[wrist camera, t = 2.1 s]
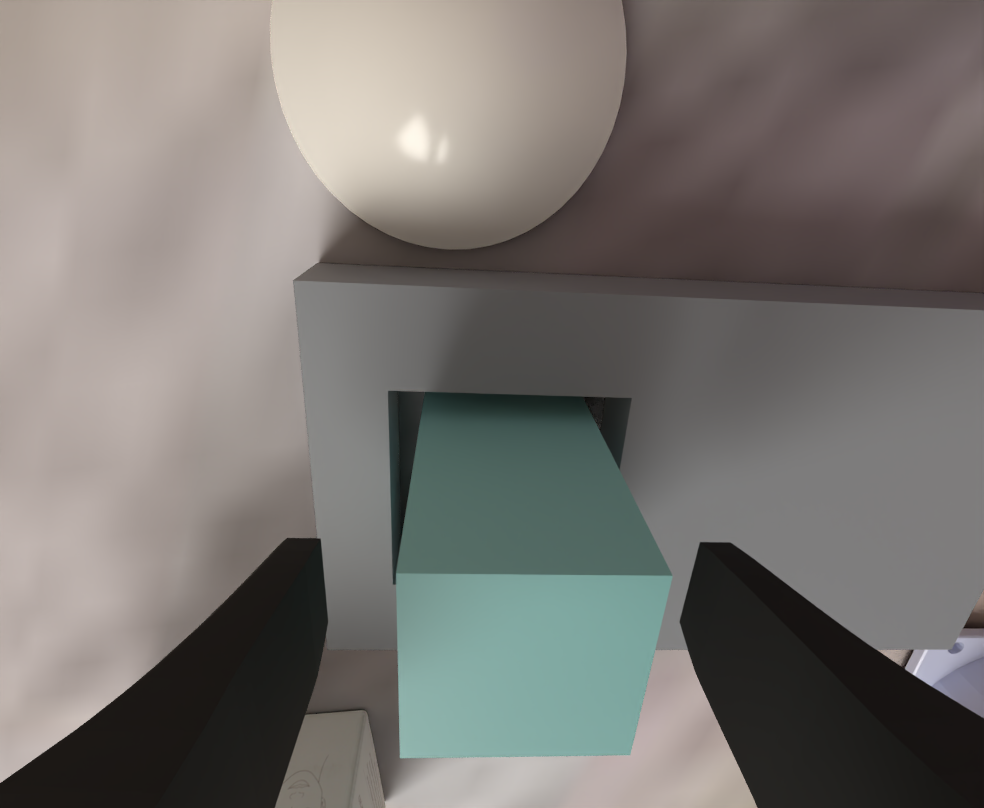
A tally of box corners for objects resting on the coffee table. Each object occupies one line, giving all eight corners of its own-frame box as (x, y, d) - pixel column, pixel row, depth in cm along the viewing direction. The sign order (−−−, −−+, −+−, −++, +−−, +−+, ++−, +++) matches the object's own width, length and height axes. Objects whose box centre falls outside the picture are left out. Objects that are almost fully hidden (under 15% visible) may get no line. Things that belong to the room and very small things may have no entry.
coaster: (647, -137, 10) (654, -147, 10) (597, 254, 13) (601, 256, 13) (256, -175, 10) (247, -187, 9) (293, 239, 12) (288, 242, 12)
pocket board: (1042, 295, 14) (1130, 316, 12) (901, 599, 18) (951, 649, 16) (317, 262, 13) (293, 280, 11) (342, 596, 17) (327, 650, 15)
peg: (579, 390, 14) (673, 575, 8) (563, 517, 16) (630, 755, 10) (425, 385, 14) (396, 573, 8) (424, 515, 16) (399, 758, 9)
